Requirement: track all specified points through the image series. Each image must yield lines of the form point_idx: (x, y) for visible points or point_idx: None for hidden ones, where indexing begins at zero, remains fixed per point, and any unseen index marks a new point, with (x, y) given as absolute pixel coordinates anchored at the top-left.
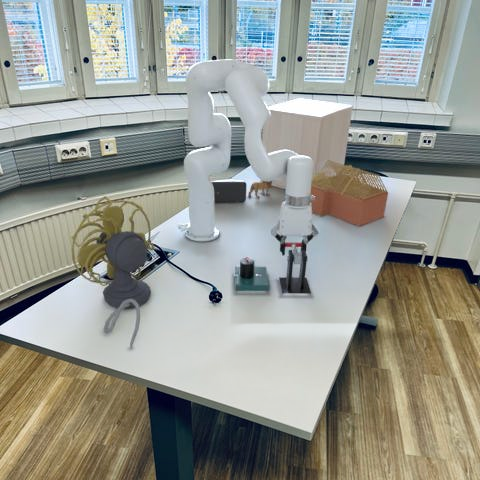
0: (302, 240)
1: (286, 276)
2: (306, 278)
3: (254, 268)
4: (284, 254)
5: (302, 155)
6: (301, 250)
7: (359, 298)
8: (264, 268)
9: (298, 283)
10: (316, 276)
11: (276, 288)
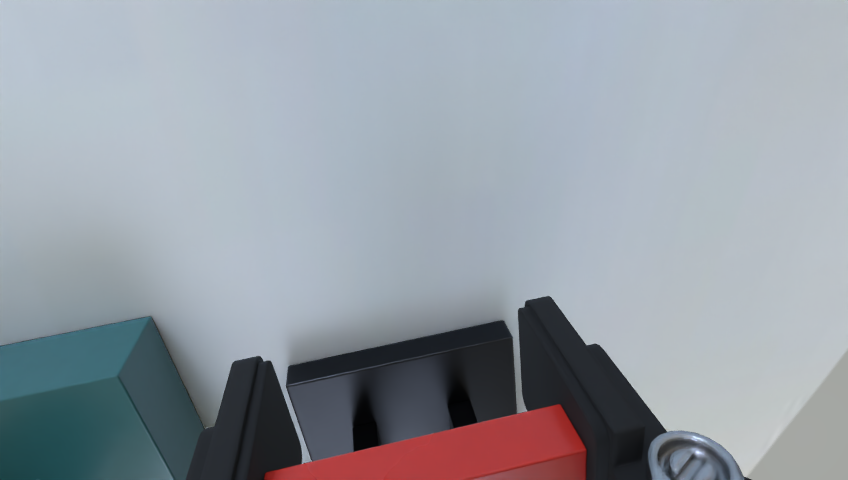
0: (619, 438)
1: None
2: (510, 350)
3: (6, 433)
4: (298, 462)
5: None
6: (537, 393)
7: (774, 421)
8: (115, 410)
9: (446, 425)
10: (591, 240)
11: None
